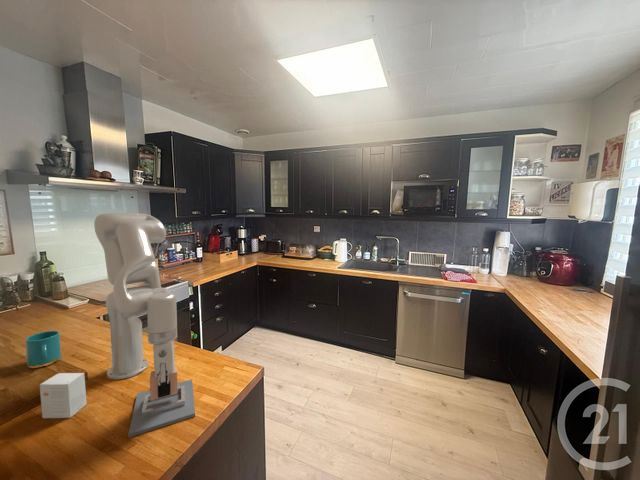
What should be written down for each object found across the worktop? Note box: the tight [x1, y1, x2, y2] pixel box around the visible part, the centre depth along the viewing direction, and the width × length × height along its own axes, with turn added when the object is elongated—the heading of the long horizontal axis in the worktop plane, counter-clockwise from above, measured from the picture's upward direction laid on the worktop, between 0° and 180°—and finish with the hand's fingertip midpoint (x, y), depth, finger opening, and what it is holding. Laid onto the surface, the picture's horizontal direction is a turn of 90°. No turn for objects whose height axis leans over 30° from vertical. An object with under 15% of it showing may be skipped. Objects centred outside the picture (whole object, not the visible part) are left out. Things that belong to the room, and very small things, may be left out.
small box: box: [39, 372, 88, 419], centre depth 76 cm, size 8×6×10 cm
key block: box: [149, 365, 179, 401], centre depth 78 cm, size 7×4×7 cm, turn 119°
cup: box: [25, 330, 62, 367], centre depth 99 cm, size 9×12×11 cm
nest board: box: [127, 378, 196, 439], centre depth 79 cm, size 18×16×2 cm
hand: (164, 390), depth 79 cm, fingers closed on key block, 4 cm apart
